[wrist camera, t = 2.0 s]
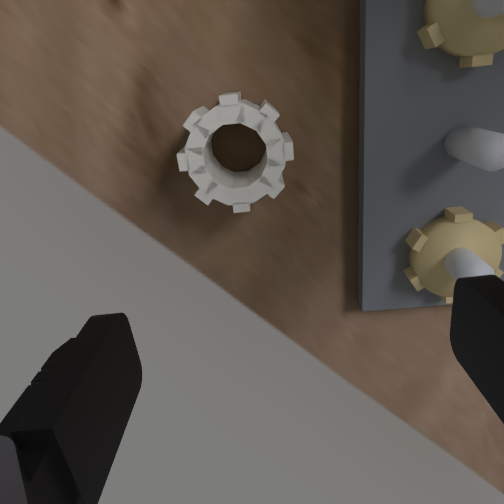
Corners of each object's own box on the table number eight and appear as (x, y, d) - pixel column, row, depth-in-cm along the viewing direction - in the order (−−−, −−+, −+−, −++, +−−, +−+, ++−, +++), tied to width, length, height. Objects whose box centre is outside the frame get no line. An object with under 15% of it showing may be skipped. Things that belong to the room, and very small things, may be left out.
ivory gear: (181, 97, 25) (167, 101, 21) (284, 86, 25) (289, 88, 21) (197, 196, 28) (187, 217, 24) (290, 187, 28) (296, 207, 24)
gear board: (360, -75, 22) (390, -121, 17) (586, -104, 21) (689, -161, 16) (357, 301, 31) (376, 344, 26) (513, 288, 31) (563, 330, 26)
